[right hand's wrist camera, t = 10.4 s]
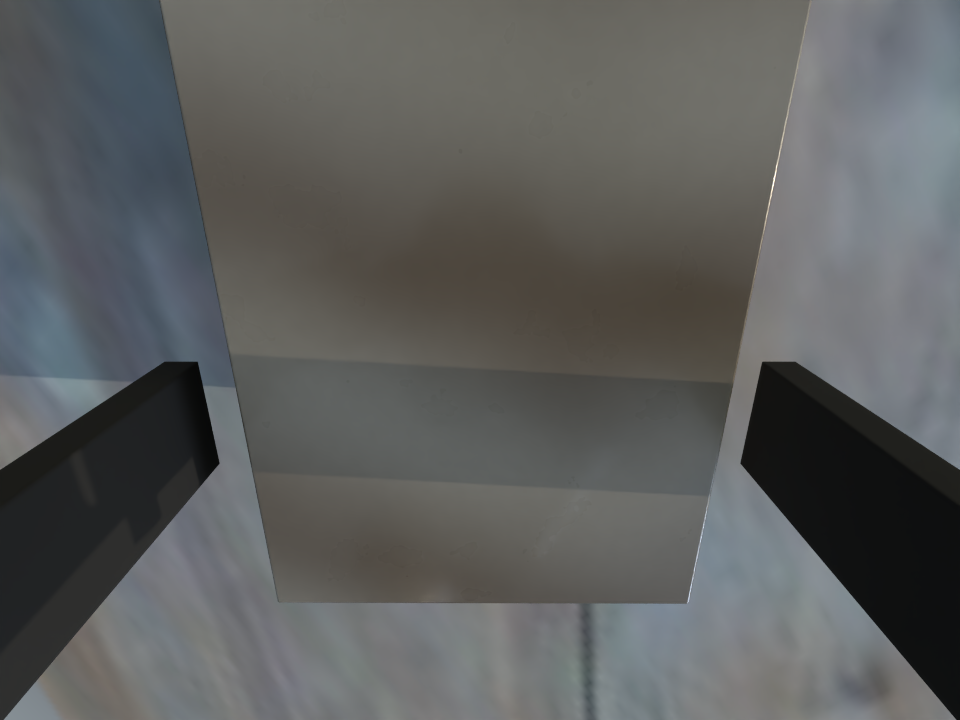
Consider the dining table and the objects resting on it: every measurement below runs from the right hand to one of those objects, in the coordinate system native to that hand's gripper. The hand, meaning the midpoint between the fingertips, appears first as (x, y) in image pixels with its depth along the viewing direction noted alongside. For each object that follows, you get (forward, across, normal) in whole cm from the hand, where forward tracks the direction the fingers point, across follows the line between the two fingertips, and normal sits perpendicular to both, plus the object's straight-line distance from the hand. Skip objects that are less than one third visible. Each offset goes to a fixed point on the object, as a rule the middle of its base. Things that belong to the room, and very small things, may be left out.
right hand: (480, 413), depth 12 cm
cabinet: (+10, 0, -4) cm, 11 cm away
